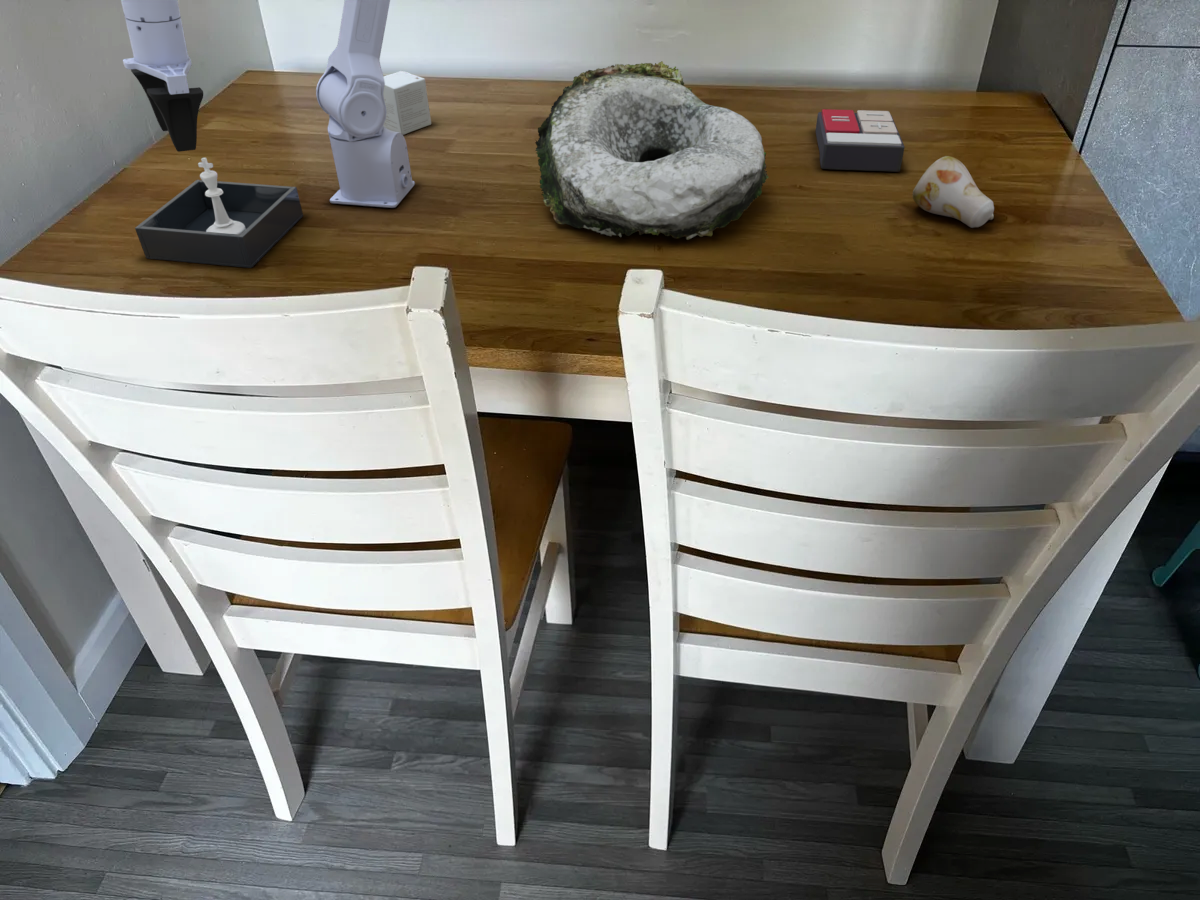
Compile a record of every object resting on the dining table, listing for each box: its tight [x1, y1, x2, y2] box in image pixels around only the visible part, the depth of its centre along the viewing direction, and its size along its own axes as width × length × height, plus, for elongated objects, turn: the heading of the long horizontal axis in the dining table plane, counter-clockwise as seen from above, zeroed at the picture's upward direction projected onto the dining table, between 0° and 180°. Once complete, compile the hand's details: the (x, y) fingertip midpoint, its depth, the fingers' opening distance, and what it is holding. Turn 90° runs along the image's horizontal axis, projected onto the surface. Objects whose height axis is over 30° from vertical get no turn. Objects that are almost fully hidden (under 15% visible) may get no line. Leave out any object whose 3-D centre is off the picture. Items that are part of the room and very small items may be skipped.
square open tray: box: [134, 179, 304, 269], centre depth 114 cm, size 14×14×4 cm
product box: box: [383, 70, 432, 136], centre depth 142 cm, size 6×6×7 cm
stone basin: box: [534, 60, 770, 241], centre depth 118 cm, size 29×30×15 cm
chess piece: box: [197, 157, 246, 235], centre depth 112 cm, size 5×5×10 cm
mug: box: [912, 155, 995, 229], centre depth 115 cm, size 8×10×10 cm
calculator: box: [815, 108, 906, 173], centre depth 133 cm, size 11×4×15 cm
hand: (178, 139), depth 108 cm, fingers open, 7 cm apart
